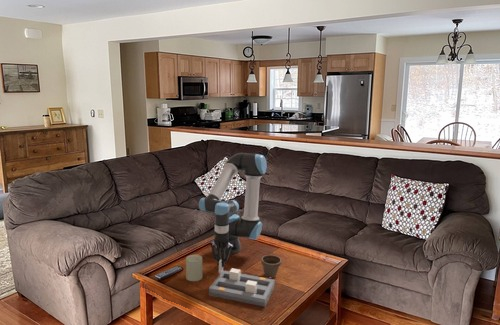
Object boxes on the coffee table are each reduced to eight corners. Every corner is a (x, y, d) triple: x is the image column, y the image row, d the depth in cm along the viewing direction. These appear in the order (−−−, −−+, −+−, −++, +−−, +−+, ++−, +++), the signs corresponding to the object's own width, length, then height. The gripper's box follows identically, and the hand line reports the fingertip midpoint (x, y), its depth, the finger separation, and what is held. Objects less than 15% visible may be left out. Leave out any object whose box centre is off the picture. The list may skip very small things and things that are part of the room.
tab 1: (231, 278, 205) (232, 268, 204) (240, 279, 204) (240, 269, 203) (229, 281, 202) (229, 271, 200) (238, 283, 200) (238, 273, 199)
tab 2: (247, 290, 194) (247, 280, 192) (256, 292, 192) (257, 281, 191) (245, 294, 190) (245, 283, 189) (254, 296, 188) (255, 285, 187)
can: (194, 283, 203) (194, 262, 201) (182, 277, 209) (182, 257, 206) (205, 276, 210) (206, 257, 208) (194, 271, 216) (194, 252, 213)
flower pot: (284, 278, 212) (285, 261, 210) (266, 282, 207) (267, 265, 205) (273, 268, 222) (274, 253, 220) (257, 272, 217) (257, 256, 215)
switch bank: (223, 276, 211) (223, 269, 210) (274, 286, 202) (274, 279, 202) (208, 295, 192) (209, 287, 191) (265, 306, 184) (265, 299, 183)
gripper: (207, 232, 198) (207, 273, 203) (230, 235, 194) (229, 277, 199) (213, 227, 205) (212, 266, 210) (235, 230, 201) (234, 270, 206)
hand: (220, 271), depth 204 cm, fingers closed
